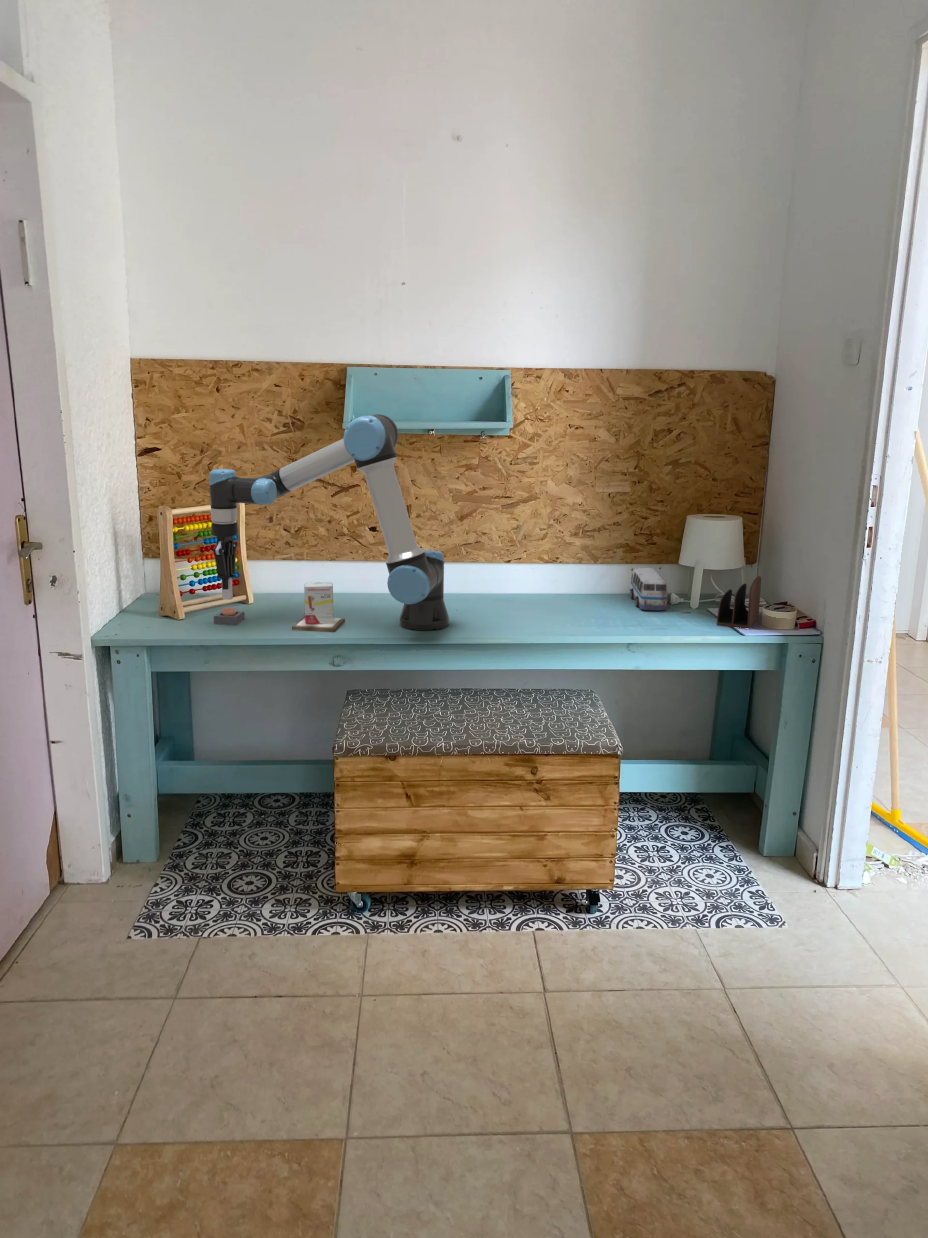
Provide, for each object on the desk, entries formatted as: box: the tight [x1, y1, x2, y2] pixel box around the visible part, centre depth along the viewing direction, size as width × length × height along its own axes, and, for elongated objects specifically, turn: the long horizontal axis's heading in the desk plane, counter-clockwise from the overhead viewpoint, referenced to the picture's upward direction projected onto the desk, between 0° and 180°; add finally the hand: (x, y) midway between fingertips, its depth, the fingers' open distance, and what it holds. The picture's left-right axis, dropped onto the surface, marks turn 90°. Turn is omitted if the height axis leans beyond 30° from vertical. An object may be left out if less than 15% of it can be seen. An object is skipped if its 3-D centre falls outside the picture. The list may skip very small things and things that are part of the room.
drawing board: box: [291, 615, 346, 633], centre depth 276 cm, size 13×12×1 cm
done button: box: [221, 606, 237, 616], centre depth 278 cm, size 4×4×2 cm
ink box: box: [303, 581, 335, 624], centre depth 275 cm, size 9×5×12 cm, turn 100°
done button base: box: [213, 610, 246, 626], centre depth 279 cm, size 7×7×2 cm
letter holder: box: [716, 575, 762, 629], centre depth 289 cm, size 10×20×14 cm, turn 154°
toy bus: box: [629, 567, 668, 611], centre depth 311 cm, size 10×27×10 cm, turn 178°
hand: (227, 598), depth 277 cm, fingers closed
